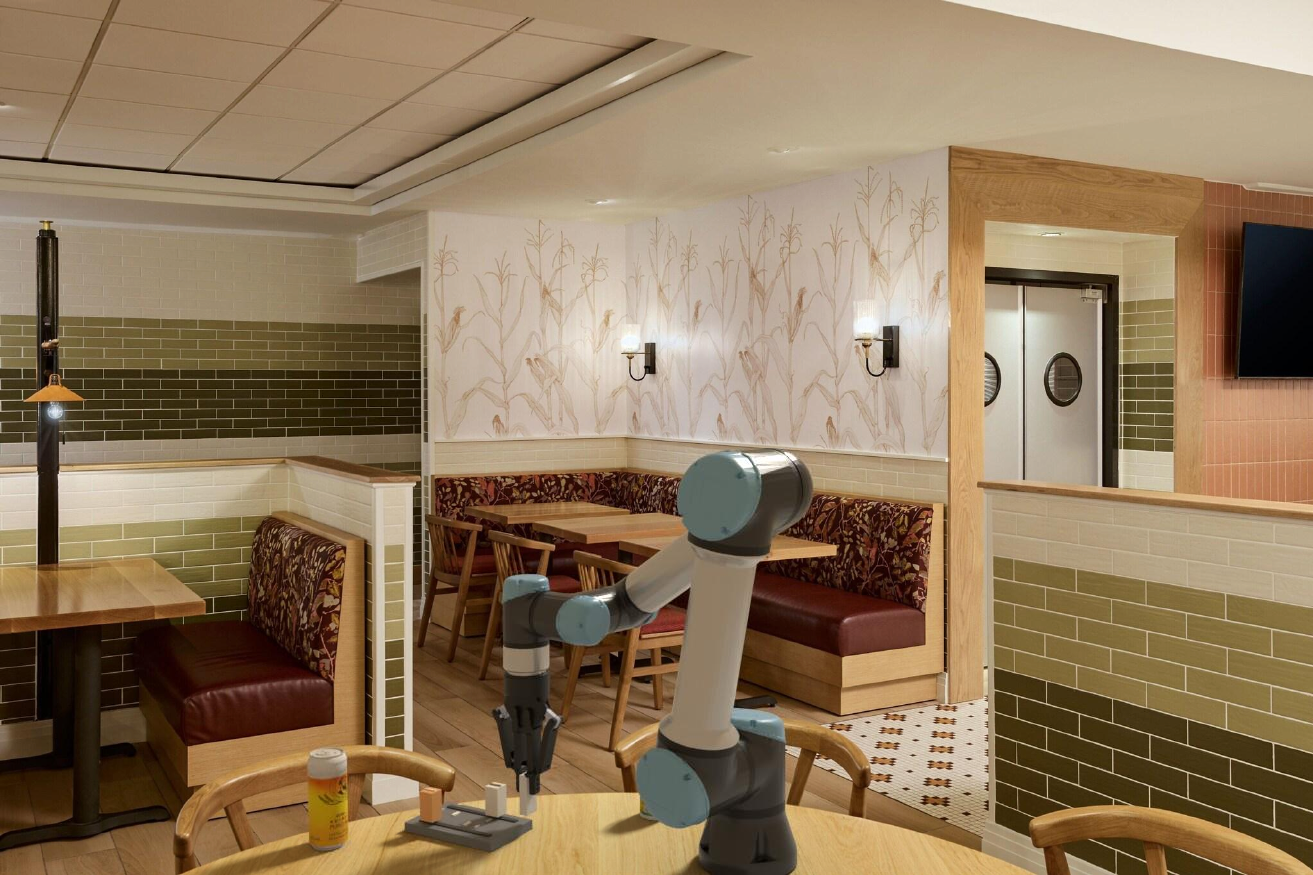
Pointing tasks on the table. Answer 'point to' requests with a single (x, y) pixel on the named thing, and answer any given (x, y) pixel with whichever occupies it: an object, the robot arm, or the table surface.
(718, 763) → the robot arm
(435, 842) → the table surface
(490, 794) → the cream fader
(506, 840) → the console
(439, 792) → the orange fader
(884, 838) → the table surface
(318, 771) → the beer can
